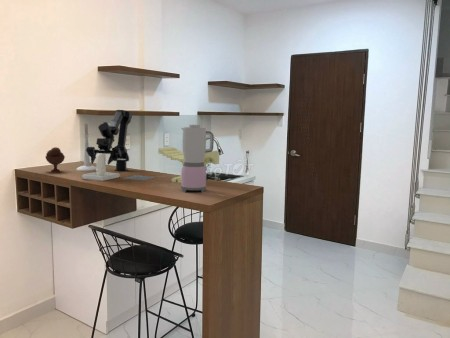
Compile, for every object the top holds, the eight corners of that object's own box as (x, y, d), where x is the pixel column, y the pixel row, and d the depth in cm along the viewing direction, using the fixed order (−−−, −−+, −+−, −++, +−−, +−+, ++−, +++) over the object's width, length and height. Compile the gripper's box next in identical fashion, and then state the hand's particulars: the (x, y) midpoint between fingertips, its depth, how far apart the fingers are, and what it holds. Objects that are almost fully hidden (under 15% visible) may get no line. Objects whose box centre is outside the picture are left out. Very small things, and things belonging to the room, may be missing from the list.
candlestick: (77, 171, 229) (76, 123, 225) (75, 168, 240) (73, 122, 236) (99, 170, 235) (98, 123, 231) (95, 167, 246) (94, 122, 242)
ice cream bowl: (68, 170, 232) (67, 146, 230) (58, 173, 221) (58, 148, 219) (52, 169, 233) (51, 146, 231) (42, 172, 222) (41, 147, 220)
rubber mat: (136, 175, 219) (136, 175, 219) (156, 177, 214) (157, 177, 214) (121, 179, 206) (121, 178, 206) (143, 181, 201) (143, 180, 201)
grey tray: (99, 175, 215) (99, 171, 215) (119, 177, 210) (119, 173, 210) (82, 179, 203) (82, 174, 202) (102, 181, 197) (102, 177, 197)
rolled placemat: (104, 176, 210) (104, 153, 208) (106, 178, 206) (106, 154, 204) (95, 177, 207) (95, 154, 205) (97, 178, 203) (97, 155, 201)
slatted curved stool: (218, 181, 207) (219, 150, 205) (203, 186, 193) (204, 152, 191) (175, 176, 221) (175, 146, 219) (158, 179, 208) (158, 148, 205)
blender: (181, 193, 174) (182, 124, 169) (179, 188, 186) (180, 124, 181) (214, 192, 177) (216, 125, 173) (210, 187, 189) (211, 125, 184)
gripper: (87, 132, 207) (78, 153, 198) (119, 133, 206) (112, 155, 197) (93, 145, 216) (85, 166, 207) (124, 146, 215) (117, 167, 206)
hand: (99, 163), depth 204 cm, fingers open, 9 cm apart
